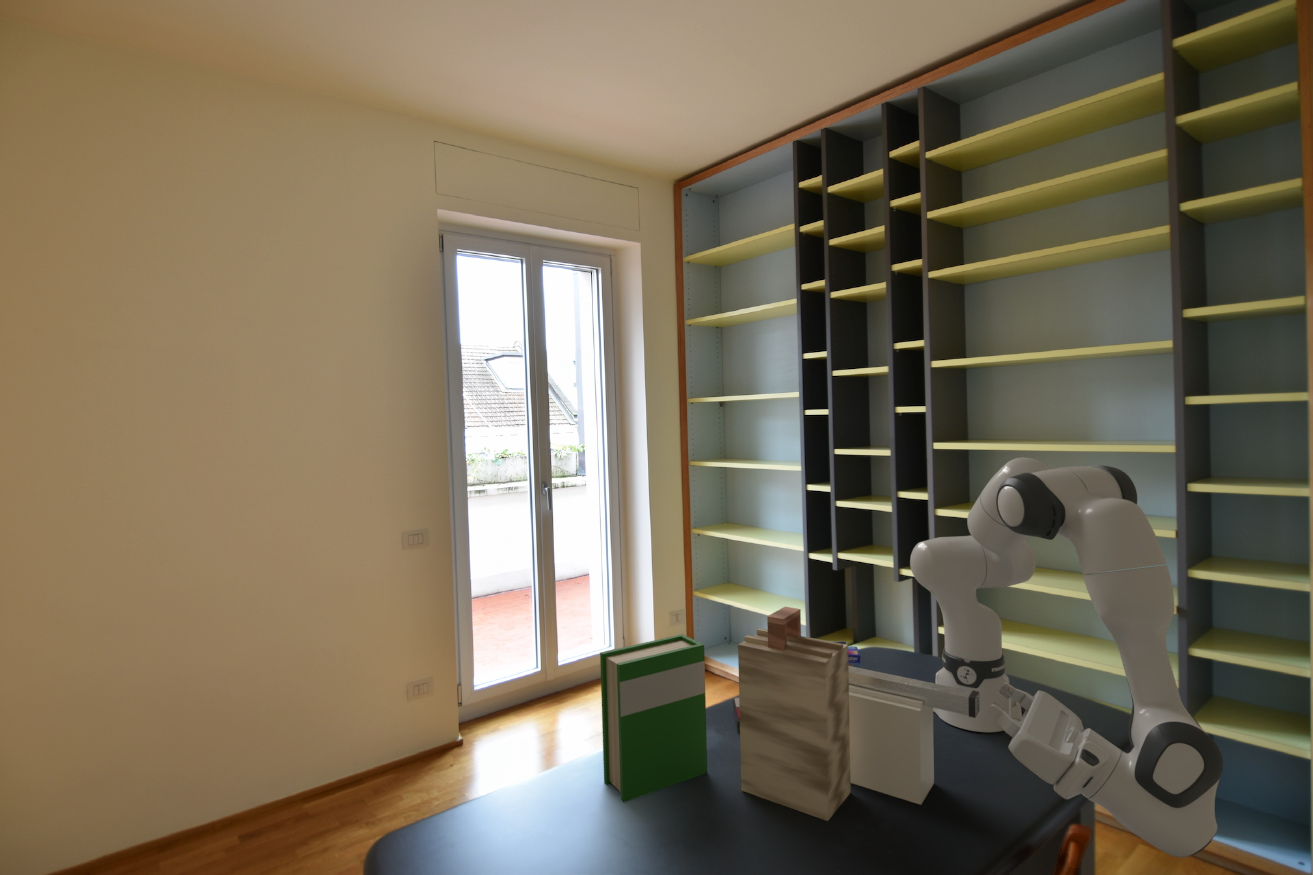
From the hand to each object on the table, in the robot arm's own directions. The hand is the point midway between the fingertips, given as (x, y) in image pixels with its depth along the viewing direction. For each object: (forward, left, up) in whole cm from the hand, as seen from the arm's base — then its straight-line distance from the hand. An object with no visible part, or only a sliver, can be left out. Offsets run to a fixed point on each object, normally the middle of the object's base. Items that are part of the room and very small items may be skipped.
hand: (995, 696), depth 110 cm
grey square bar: (0, -15, -4) cm, 15 cm away
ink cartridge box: (-27, -38, -20) cm, 51 cm away
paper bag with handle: (+12, -30, -20) cm, 38 cm away
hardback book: (+22, -53, -20) cm, 61 cm away
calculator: (-10, -46, -20) cm, 51 cm away
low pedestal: (0, -18, -20) cm, 27 cm away
